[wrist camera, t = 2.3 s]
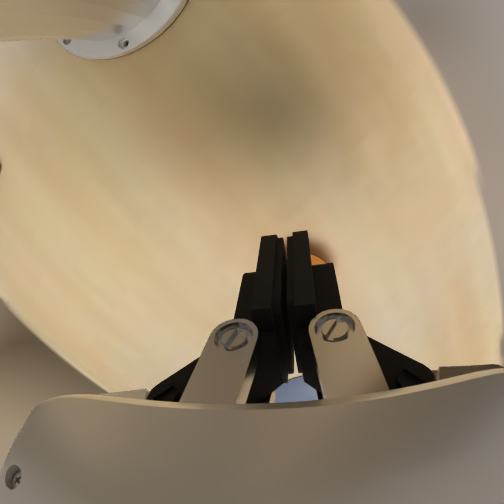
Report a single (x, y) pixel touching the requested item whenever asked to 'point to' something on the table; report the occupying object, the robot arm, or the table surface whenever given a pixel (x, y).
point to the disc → (295, 391)
